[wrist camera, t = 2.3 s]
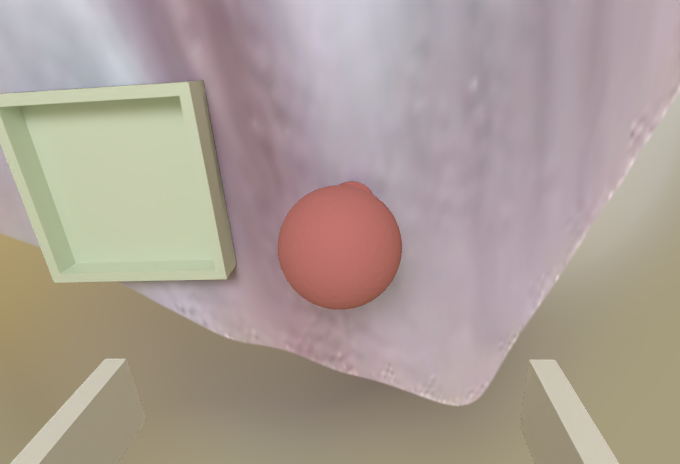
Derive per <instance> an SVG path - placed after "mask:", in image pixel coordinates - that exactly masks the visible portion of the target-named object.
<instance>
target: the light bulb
mask: <svg viewBox="0 0 680 464" xmlns="http://www.w3.org/2000/svg"><path fill="white" fill-rule="evenodd" d="M401 253H402V241H401V235H400V231H399V227H398V225H397V223H396V220H395V218H394V216H393V215H392V213H391V212H390V210H389V209H388V208H387V207H386V205H385V204H384V203H383V202H381V201H380V200H379V199H378V198H377V197H375V196H374V195H373V194H372V192H371V191H370V190H369V188H368V187H366V186H365V185H363V184H361V183H359V182H353V181H351V182H345V183H342V184H340V185H338V186H328V187H324V188H321V189H317V190H315V191H313V192H311V193H309V194H308V195H306V196H304V197H303V198H302V199H300V200H299V201H298V202H297V203H296V204H295V205H294V206H293V207H292V209H291V210H290V211H289V213H288V214H287V216H286V218H285V219H284V222H283V224H282V227H281V229H280V234H279V239H278V256H279V261H280V265H281V269H282V271H283V273H284V275H285V277H286V279H287V281H288V282H289V283H290V285H291V286H292V287H293V289H294V290H295V291H296V292H297V293H299V294H300V295H301V296H302V297H303V298H305V299H306V300H308V301H310V302H311V303H313V304H316V305H318V306H321V307H325V308H329V309H350V308H355V307H358V306H362V305H364V304H366V303H368V302H370V301H372V300H373V299H375V298H376V297H378V296H379V295H380V294H381V293H382V292H383V291H384V290H385V289H386V288H387V287H388V286H389V284H390V283H391V281H392V280H393V278H394V276H395V274H396V272H397V270H398V267H399V264H400V260H401Z"/></svg>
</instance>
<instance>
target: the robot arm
mask: <svg viewBox="0 0 680 464" xmlns="http://www.w3.org/2000/svg"><path fill="white" fill-rule="evenodd" d="M145 421H146V417H145V413H144V411H143V408H142V404H141V401H140V398H139V396H138V392H137V389H136V386H135V383H134V380H133V377H132V374H131V371H130V368H129V365H128V362H127V359H105V360H104V361H103V362H102V363H101V364H100V365H99V366H98V367H97V369H96V370H95V371H94V372H93V373H92V374H91V375H90V376H89V377H88V378H87V379H86V380H85V382H84V383H83V384H82V385H81V386H80V387H79V388H78V389H77V390H76V392H75V393H74V394H73V395H72V396H71V397H70V398H69V399H68V400H67V401H66V403H65V404H64V405H63V406H62V407H61V408H60V409H59V410H58V411H57V413H56V414H55V415H54V416H53V417H52V418H51V419H50V420H49V421H48V422H47V423H46V425H45V426H44V427H43V428H42V429H41V430H40V431H39V432H38V433H37V435H36V436H35V437H34V438H33V439H32V440H31V441H30V442H29V443H28V445H27V446H26V447H25V448H24V449H23V450H22V451H21V452H20V453H19V454H18V456H17V457H16V458H15V459H14V460H13V461H12V462H11V463H10V464H118V463H119V462H120V460H121V459H122V457H123V455H124V454H125V452H126V451H127V449H128V447H129V446H130V444H131V443H132V441H133V440H134V438H135V437H136V435H137V433H138V432H139V430H140V429H141V427H142V426H143V424H144V422H145ZM519 426H520V429H521V431H522V434H523V436H524V439H525V441H526V444H527V446H528V448H529V451H530V453H531V456H532V458H533V461H534V463H535V464H619V463H618V461H617V460H616V458H615V456H614V455H613V453H612V451H611V450H610V448H609V447H608V445H607V443H606V442H605V440H604V438H603V437H602V435H601V434H600V432H599V430H598V429H597V427H596V426H595V424H594V422H593V420H592V419H591V417H590V416H589V414H588V412H587V411H586V409H585V408H584V406H583V404H582V403H581V401H580V399H579V398H578V396H577V395H576V393H575V391H574V390H573V388H572V387H571V385H570V383H569V382H568V380H567V378H566V377H565V375H564V373H563V372H562V370H561V369H560V367H559V365H558V364H557V362H556V361H555V360H529V364H528V371H527V378H526V384H525V391H524V398H523V404H522V411H521V418H520V424H519Z"/></svg>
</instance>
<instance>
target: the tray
mask: <svg viewBox="0 0 680 464" xmlns="http://www.w3.org/2000/svg"><path fill="white" fill-rule="evenodd" d="M0 144H1V147H2V149H3V152H4V155H5V157H6V160H7V162H8V165H9V167H10V170H11V173H12V175H13V178H14V180H15V183H16V186H17V188H18V191H19V193H20V196H21V198H22V201H23V204H24V206H25V209H26V211H27V214H28V217H29V219H30V222H31V224H32V227H33V229H34V232H35V235H36V237H37V240H38V242H39V245H40V248H41V250H42V253H43V255H44V258H45V260H46V263H47V266H48V268H49V270H50V273H51V276H52V279H53V281H54V283H59V282H60V283H61V282H109V281H110V282H111V281H162V280H213V279H227V278H228V277H229V275H230V274H231V272H232V271H233V269H234V268H235V266H236V259H235V253H234V248H233V242H232V237H231V231H230V226H229V220H228V215H227V209H226V204H225V198H224V193H223V187H222V182H221V176H220V171H219V165H218V160H217V154H216V149H215V143H214V137H213V132H212V126H211V121H210V115H209V110H208V104H207V99H206V93H205V88H204V82H203V81H188V82H172V83H157V84H141V85H126V86H111V87H95V88H80V89H64V90H49V91H33V92H18V93H5V94H0Z"/></svg>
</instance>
